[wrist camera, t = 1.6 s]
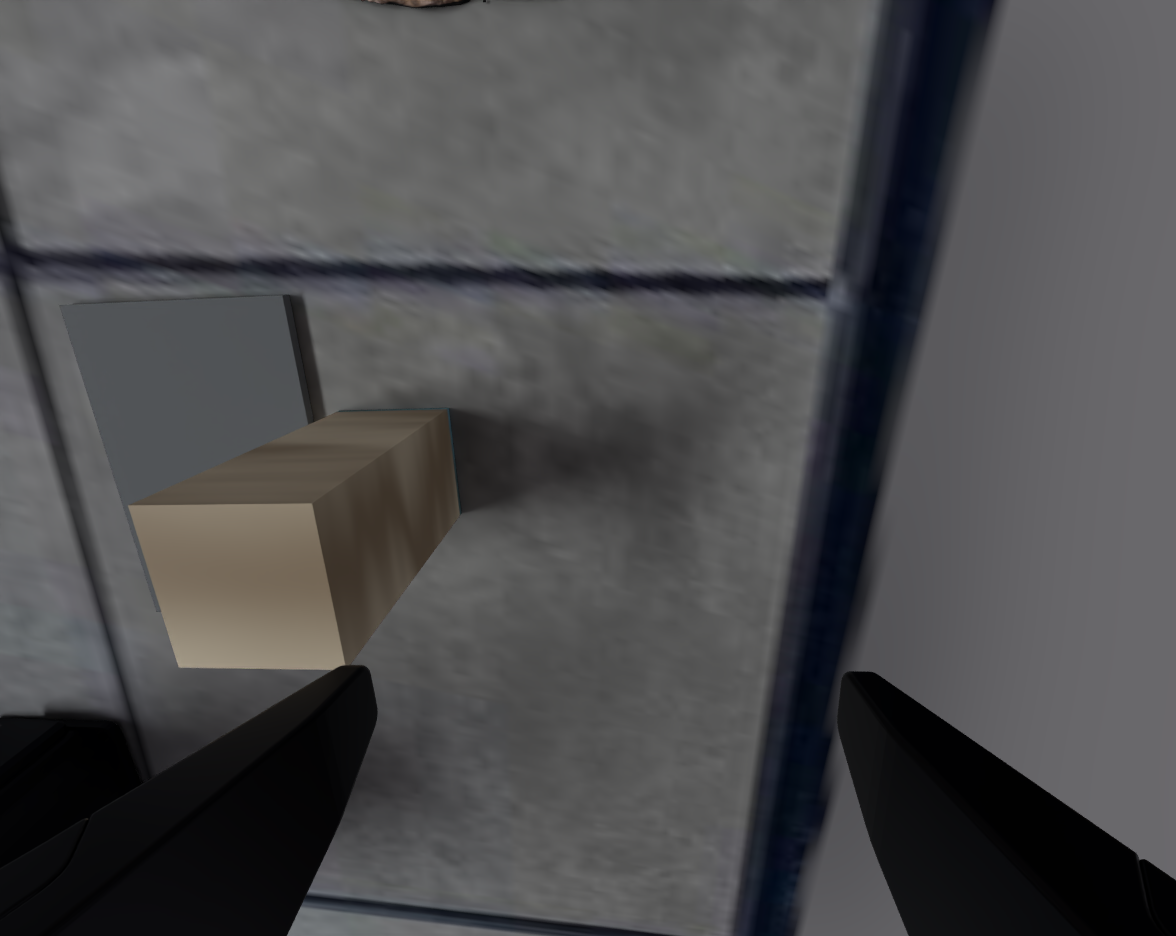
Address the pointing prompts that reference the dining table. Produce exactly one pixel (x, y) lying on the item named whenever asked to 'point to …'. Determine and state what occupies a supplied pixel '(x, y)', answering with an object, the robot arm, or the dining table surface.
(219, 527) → the oak block
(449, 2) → the shell
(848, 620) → the dining table surface
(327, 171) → the dining table surface
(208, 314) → the mat
